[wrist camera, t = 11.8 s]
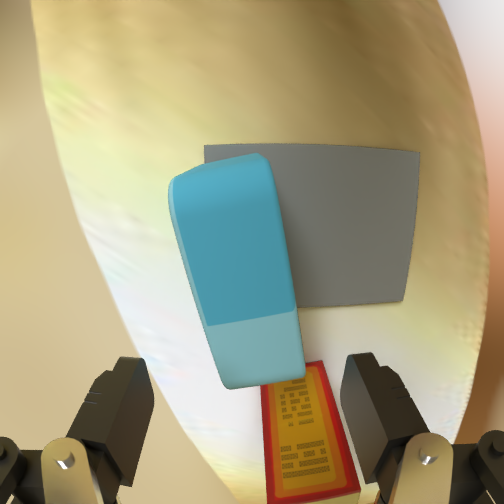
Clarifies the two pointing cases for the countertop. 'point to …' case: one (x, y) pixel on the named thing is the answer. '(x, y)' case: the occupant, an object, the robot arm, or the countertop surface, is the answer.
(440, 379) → the countertop surface
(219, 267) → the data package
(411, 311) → the countertop surface
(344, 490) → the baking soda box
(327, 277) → the rubber mat
